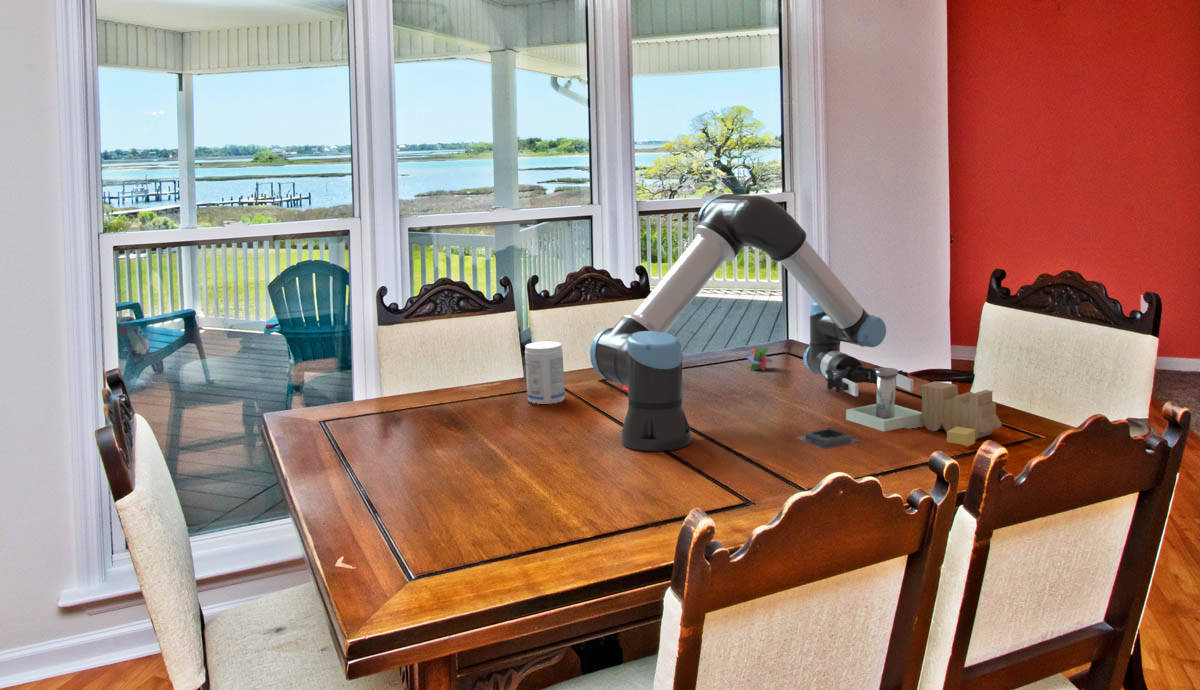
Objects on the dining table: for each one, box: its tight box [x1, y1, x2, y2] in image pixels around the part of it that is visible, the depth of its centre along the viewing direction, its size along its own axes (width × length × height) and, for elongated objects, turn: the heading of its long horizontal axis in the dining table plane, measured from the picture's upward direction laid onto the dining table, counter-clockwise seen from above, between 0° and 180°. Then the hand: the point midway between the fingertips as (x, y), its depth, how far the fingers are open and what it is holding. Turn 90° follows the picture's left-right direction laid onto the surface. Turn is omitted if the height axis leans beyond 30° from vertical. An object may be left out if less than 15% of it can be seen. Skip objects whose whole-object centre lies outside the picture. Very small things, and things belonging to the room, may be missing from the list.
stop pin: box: [875, 367, 899, 419], centre depth 227 cm, size 5×5×12 cm
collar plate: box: [794, 427, 863, 450], centre depth 215 cm, size 10×10×2 cm
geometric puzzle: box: [744, 346, 774, 372], centre depth 287 cm, size 7×7×8 cm
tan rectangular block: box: [946, 426, 976, 447], centre depth 212 cm, size 5×4×3 cm
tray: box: [845, 403, 925, 432], centre depth 228 cm, size 12×12×3 cm
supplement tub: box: [524, 340, 566, 405], centre depth 257 cm, size 10×10×15 cm
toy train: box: [917, 380, 1003, 441], centre depth 220 cm, size 6×17×10 cm, turn 38°
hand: (884, 388), depth 228 cm, fingers open, 13 cm apart
